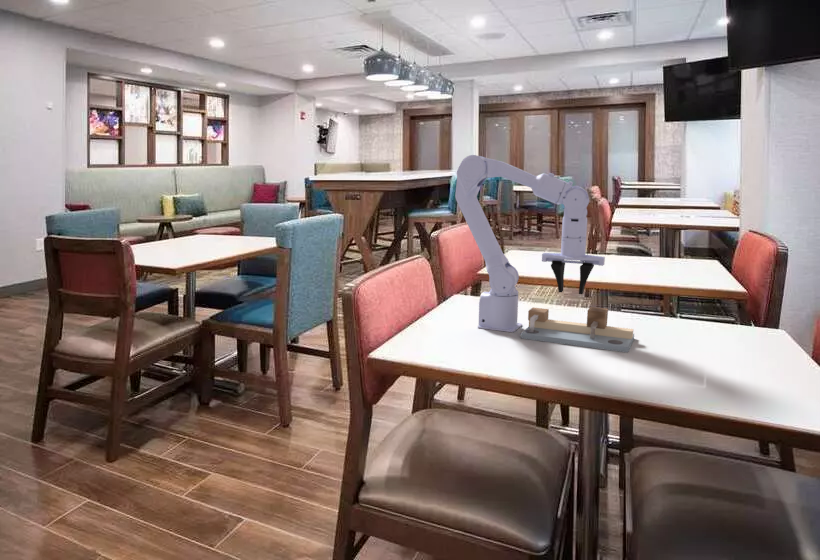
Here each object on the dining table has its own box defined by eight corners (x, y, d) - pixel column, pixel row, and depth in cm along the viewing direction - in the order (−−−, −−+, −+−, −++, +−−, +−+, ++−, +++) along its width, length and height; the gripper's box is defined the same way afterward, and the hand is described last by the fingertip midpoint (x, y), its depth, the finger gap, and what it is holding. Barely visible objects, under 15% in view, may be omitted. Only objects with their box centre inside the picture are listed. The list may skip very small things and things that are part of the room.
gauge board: (520, 338, 136) (521, 316, 135) (534, 326, 146) (534, 305, 145) (627, 352, 125) (629, 328, 124) (633, 338, 136) (635, 316, 135)
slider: (583, 337, 131) (584, 314, 130) (589, 329, 138) (590, 306, 137) (601, 339, 129) (602, 316, 128) (606, 331, 136) (608, 308, 135)
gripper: (539, 237, 137) (537, 292, 139) (602, 240, 130) (599, 298, 133) (546, 234, 143) (544, 287, 145) (607, 237, 137) (603, 293, 139)
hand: (570, 292), depth 140 cm, fingers open, 4 cm apart
